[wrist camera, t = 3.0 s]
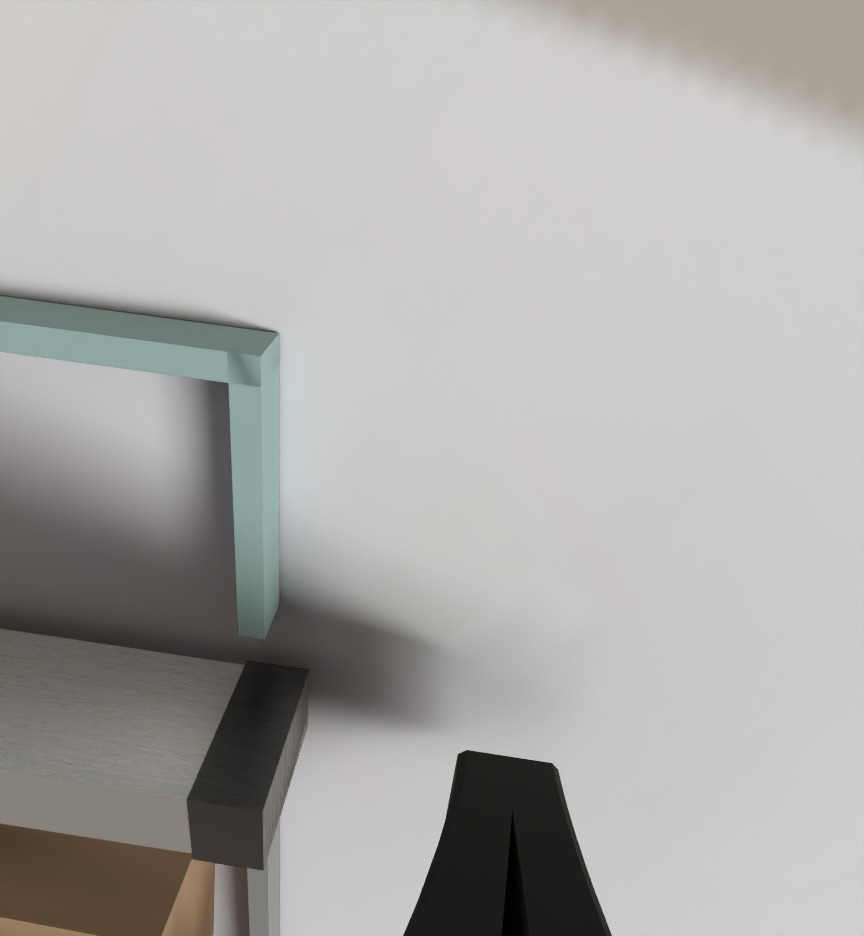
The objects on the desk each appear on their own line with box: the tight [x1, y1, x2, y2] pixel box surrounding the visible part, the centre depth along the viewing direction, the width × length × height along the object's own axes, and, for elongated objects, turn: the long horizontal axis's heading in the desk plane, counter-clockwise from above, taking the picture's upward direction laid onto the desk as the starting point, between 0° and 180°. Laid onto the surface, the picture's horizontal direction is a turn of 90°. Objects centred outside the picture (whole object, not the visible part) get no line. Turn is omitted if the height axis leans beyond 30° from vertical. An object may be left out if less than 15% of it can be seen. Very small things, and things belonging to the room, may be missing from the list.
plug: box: [0, 824, 215, 936], centre depth 15 cm, size 5×5×3 cm
